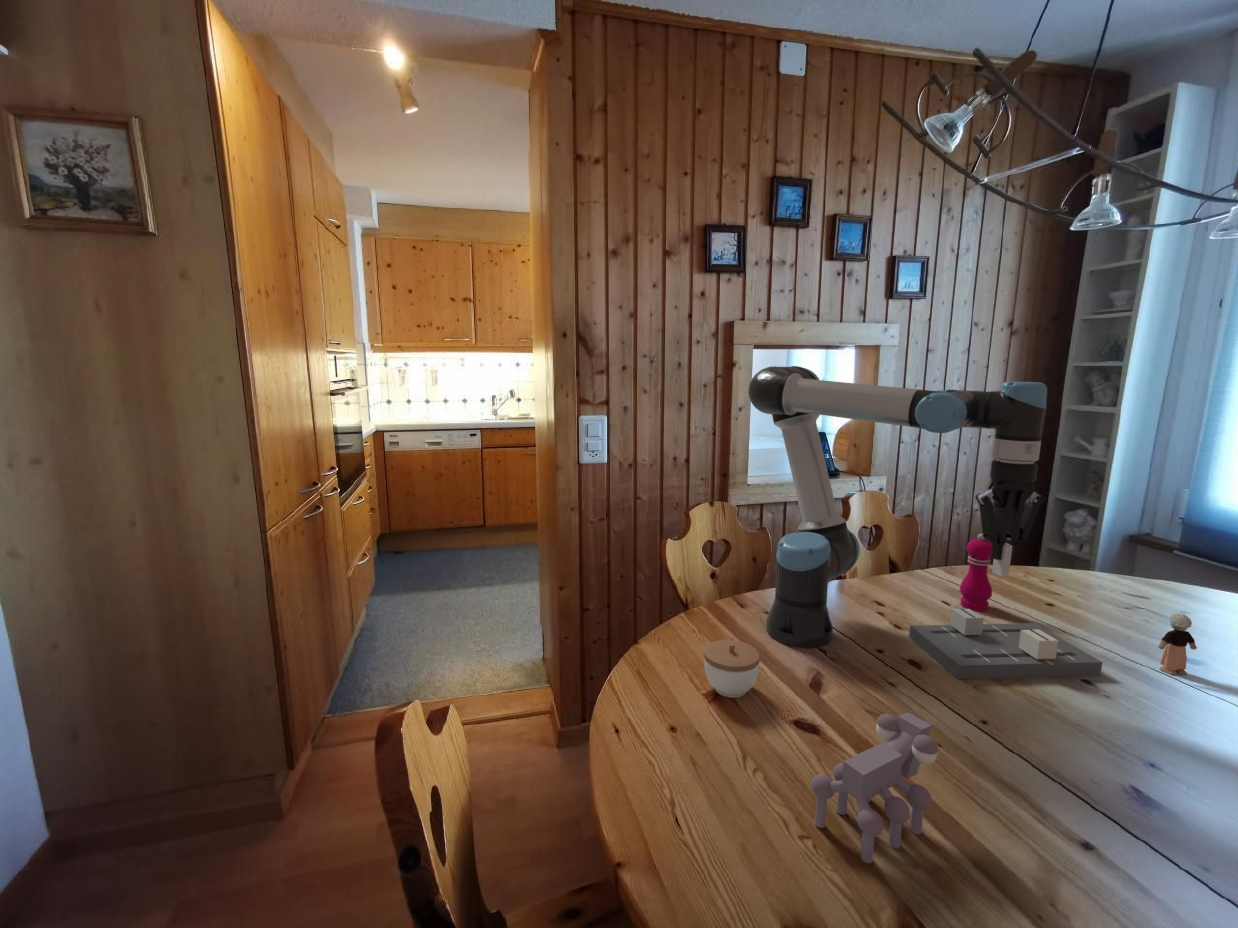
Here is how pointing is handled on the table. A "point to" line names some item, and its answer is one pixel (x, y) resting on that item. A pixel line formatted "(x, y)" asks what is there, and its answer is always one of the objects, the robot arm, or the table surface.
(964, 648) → the console
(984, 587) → the pepper mill
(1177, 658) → the grandmother figurine
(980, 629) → the fader rear
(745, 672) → the lidded jar
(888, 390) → the robot arm
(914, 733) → the toy sheep
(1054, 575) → the table surface
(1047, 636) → the fader front
